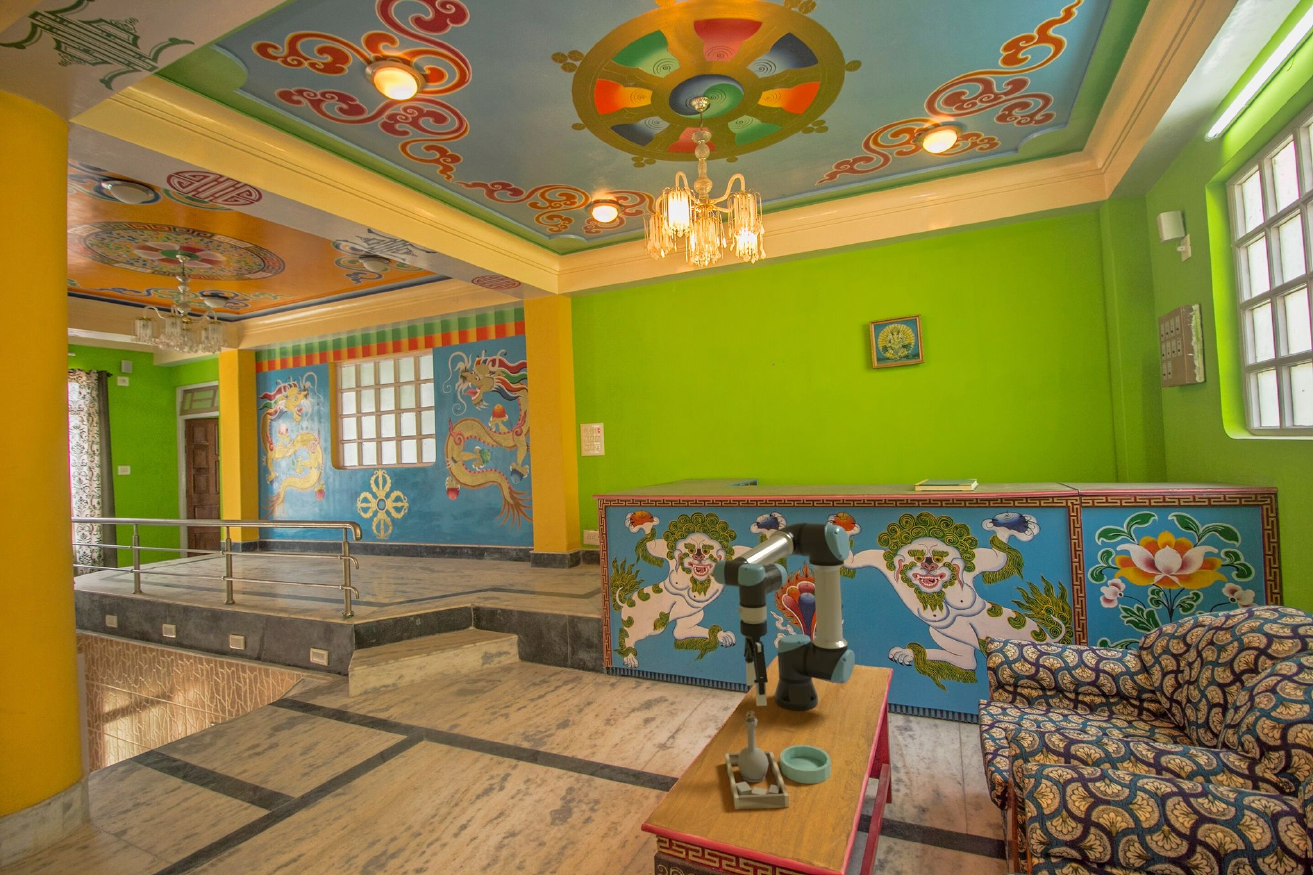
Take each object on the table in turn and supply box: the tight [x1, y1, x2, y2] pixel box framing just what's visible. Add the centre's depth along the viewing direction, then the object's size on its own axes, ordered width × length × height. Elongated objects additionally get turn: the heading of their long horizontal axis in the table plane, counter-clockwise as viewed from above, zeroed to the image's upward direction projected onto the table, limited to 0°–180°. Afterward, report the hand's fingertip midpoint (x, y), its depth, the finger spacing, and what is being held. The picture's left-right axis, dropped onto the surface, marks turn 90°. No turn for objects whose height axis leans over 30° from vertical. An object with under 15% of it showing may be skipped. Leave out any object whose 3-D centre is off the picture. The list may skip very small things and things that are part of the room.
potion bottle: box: [737, 710, 770, 784], centre depth 171 cm, size 9×9×18 cm
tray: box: [724, 750, 790, 810], centre depth 167 cm, size 22×14×3 cm, turn 0°
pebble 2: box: [767, 784, 781, 794], centre depth 161 cm, size 4×2×2 cm
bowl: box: [779, 744, 832, 785], centre depth 173 cm, size 14×14×4 cm
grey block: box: [735, 781, 753, 795], centre depth 163 cm, size 4×3×2 cm
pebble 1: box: [752, 786, 768, 795], centre depth 160 cm, size 4×3×2 cm
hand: (756, 694), depth 171 cm, fingers open, 13 cm apart
